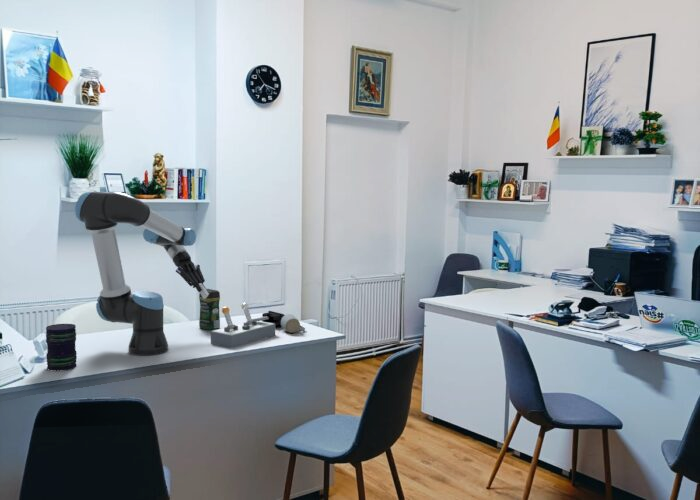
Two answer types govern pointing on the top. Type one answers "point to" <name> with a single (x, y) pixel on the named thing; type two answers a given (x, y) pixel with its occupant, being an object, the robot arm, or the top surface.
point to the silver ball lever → (247, 313)
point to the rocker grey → (261, 318)
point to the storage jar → (61, 346)
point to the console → (242, 334)
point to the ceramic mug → (291, 323)
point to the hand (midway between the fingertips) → (206, 296)
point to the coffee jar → (210, 310)
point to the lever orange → (228, 318)
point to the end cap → (273, 318)
